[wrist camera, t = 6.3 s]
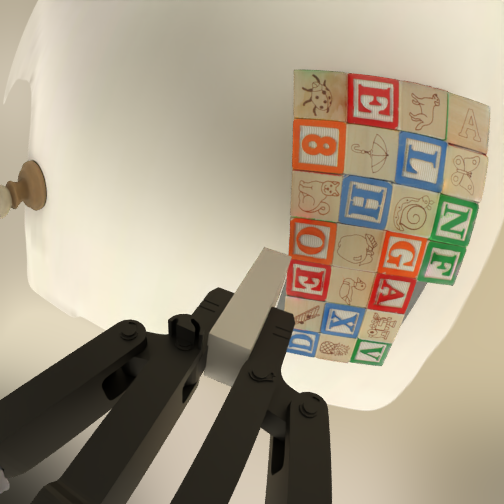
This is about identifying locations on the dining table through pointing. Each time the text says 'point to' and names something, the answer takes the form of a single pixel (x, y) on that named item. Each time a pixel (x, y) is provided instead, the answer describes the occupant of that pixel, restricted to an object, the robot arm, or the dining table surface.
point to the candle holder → (24, 190)
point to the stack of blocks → (376, 205)
